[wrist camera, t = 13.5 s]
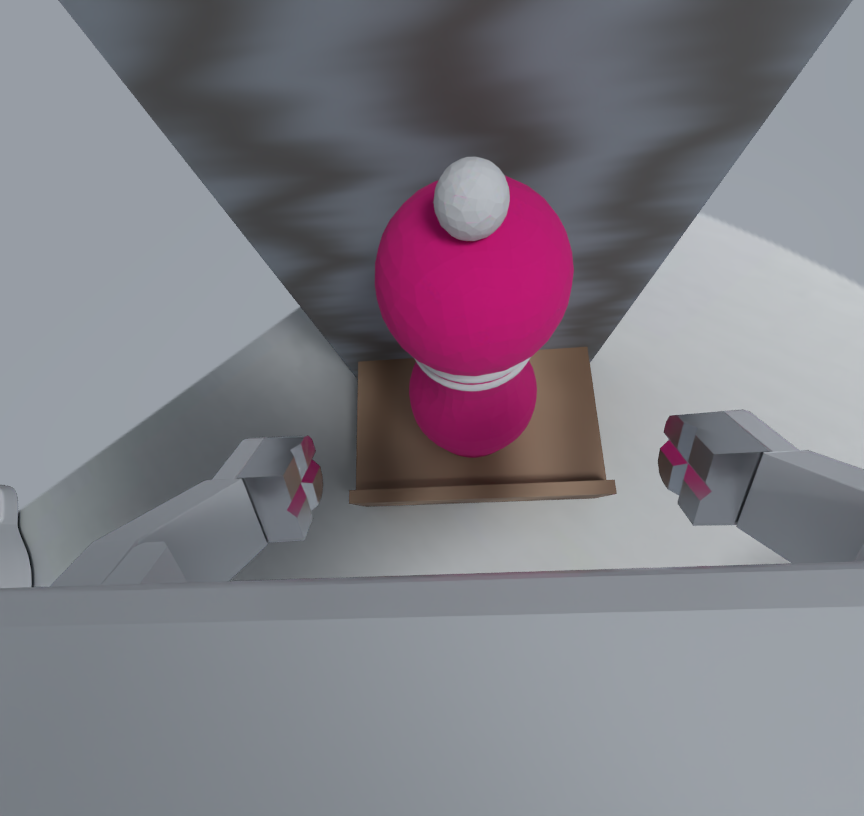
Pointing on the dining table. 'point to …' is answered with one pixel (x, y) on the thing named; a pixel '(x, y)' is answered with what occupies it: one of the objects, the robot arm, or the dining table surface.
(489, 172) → the pepper mill
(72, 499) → the dining table surface
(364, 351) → the ledge shelf
